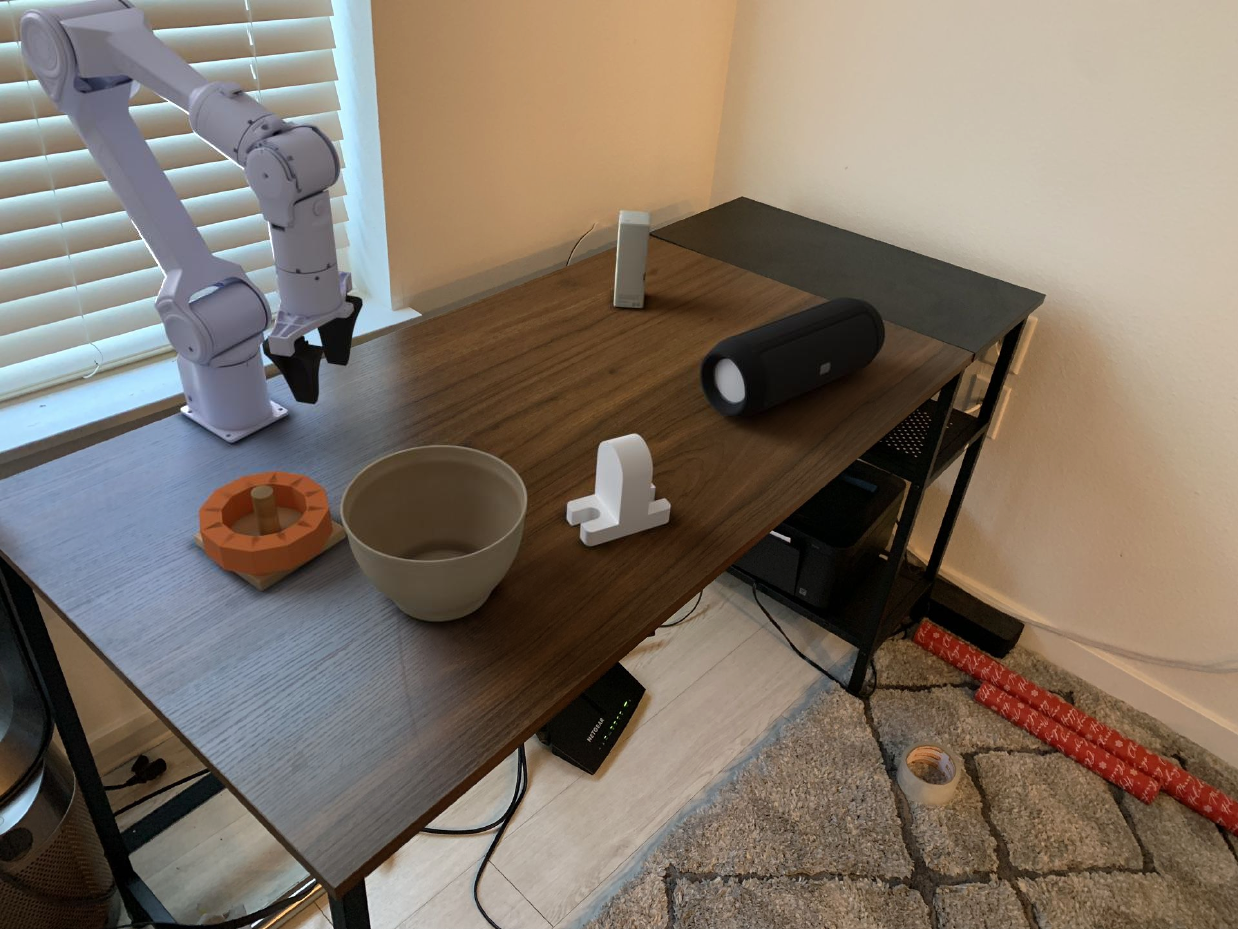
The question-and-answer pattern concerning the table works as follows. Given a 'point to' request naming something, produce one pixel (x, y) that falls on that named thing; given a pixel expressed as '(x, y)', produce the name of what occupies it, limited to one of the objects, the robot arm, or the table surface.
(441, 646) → the table surface
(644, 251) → the box
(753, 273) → the table surface
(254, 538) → the rubber ring
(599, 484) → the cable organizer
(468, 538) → the planter bowl
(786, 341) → the portable speaker
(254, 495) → the peg stand
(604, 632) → the table surface
